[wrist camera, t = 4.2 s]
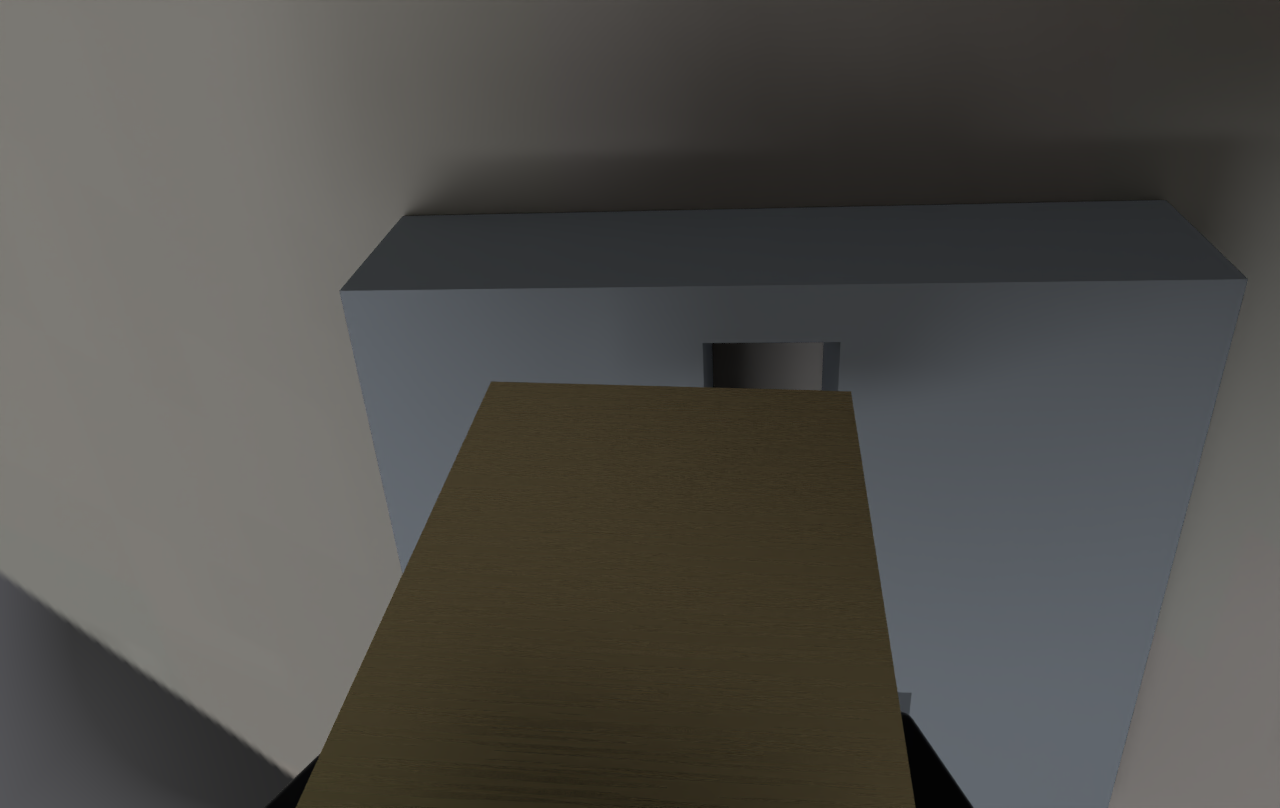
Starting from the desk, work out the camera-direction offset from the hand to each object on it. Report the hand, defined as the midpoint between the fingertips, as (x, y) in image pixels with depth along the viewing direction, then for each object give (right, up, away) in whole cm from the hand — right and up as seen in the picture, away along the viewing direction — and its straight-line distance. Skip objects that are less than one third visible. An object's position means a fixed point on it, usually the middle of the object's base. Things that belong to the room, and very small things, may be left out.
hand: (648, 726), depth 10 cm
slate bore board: (+3, 0, +13) cm, 13 cm away
